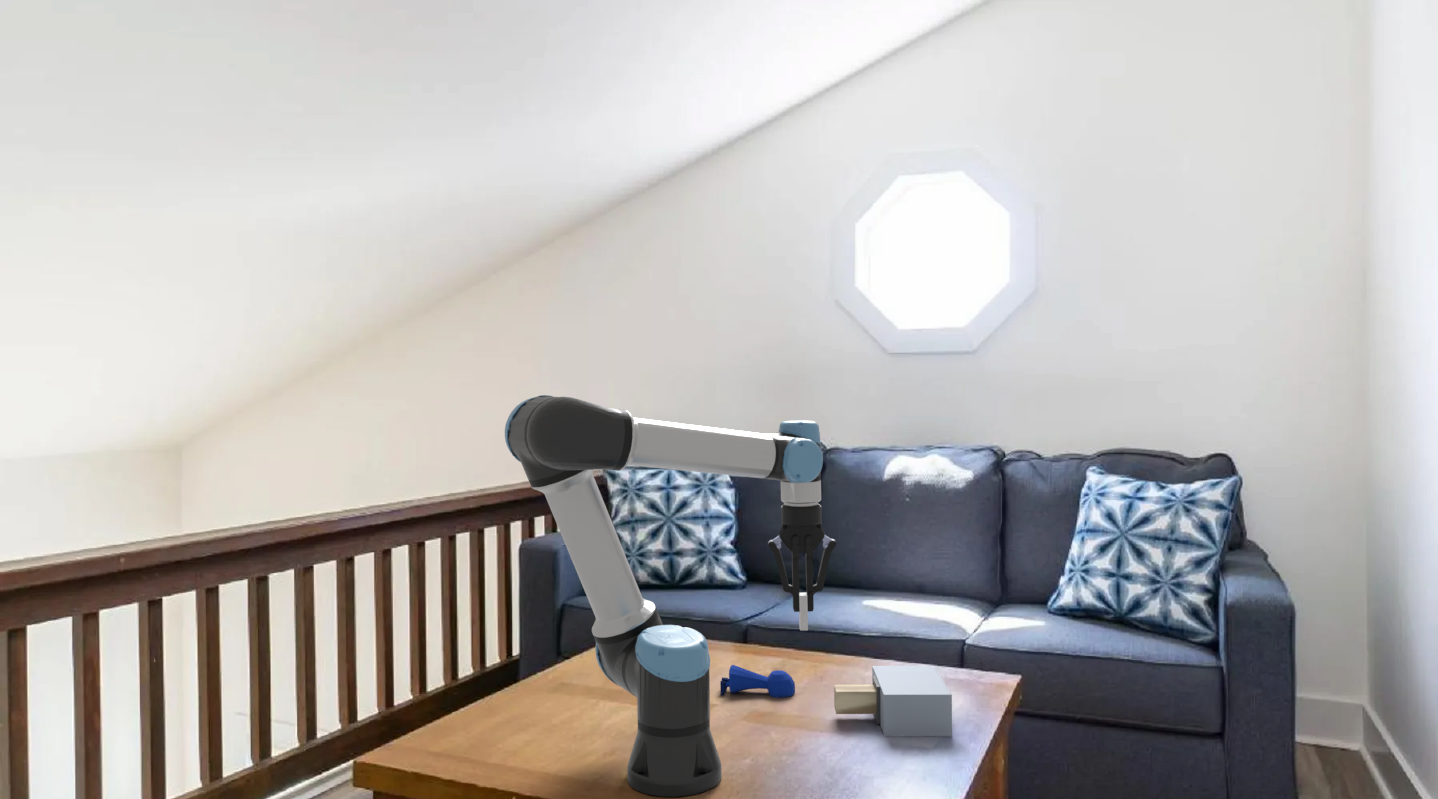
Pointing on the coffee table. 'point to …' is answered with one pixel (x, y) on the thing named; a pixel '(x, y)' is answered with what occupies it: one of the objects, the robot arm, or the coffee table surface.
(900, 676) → the sleeve block
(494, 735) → the coffee table surface
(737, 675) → the toy
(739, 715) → the coffee table surface
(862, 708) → the peg
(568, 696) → the coffee table surface
